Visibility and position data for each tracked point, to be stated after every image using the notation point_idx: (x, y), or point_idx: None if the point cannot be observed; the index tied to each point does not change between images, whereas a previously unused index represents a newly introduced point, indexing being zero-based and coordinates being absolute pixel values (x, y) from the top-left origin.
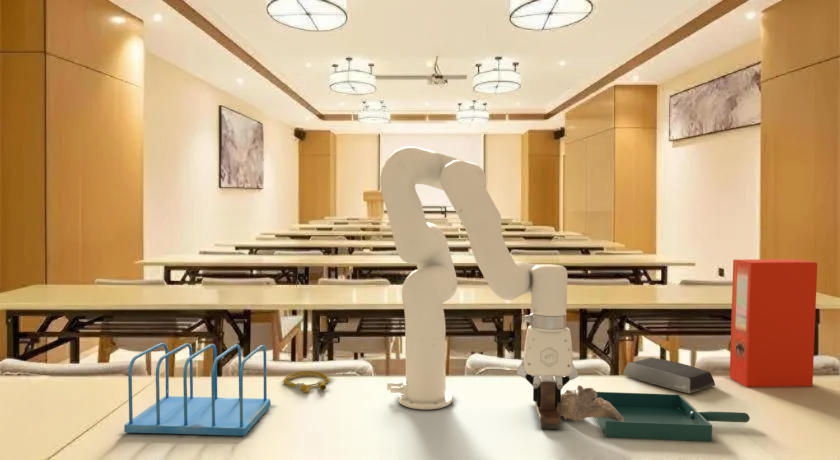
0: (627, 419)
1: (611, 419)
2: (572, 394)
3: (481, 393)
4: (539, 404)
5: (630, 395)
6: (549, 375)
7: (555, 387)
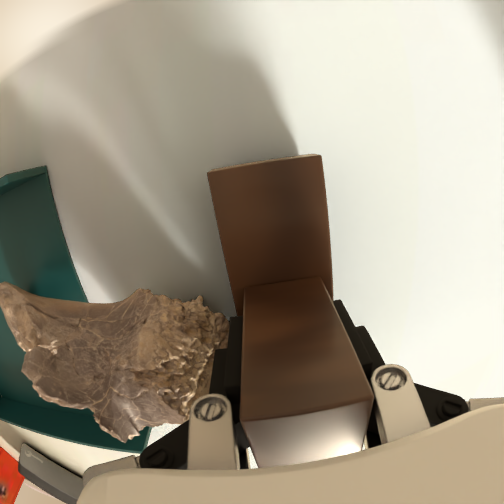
0: None
1: None
2: (147, 386)
3: None
4: None
5: (52, 430)
6: (309, 465)
7: None
